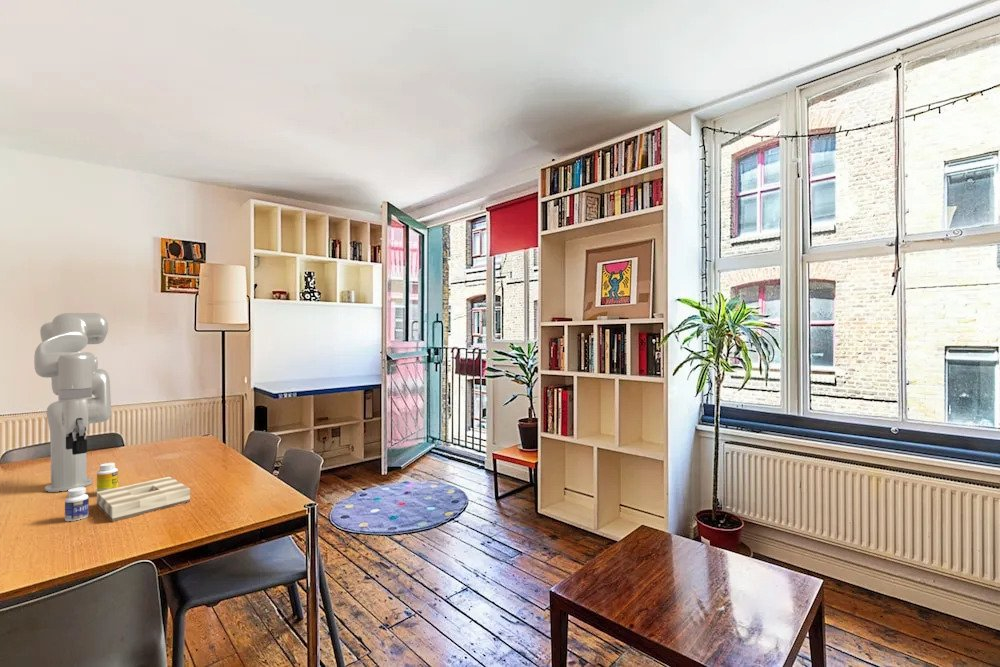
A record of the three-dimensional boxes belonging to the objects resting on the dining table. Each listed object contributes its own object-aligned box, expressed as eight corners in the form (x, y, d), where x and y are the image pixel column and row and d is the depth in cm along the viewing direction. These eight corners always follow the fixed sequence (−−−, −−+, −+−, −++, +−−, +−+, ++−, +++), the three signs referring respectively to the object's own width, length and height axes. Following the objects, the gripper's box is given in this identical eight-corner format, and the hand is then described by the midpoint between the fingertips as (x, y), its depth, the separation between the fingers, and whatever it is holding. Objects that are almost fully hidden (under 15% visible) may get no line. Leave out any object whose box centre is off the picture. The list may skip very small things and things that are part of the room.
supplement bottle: (113, 495, 159) (113, 465, 158) (93, 497, 157) (93, 467, 157) (120, 489, 164) (120, 461, 164) (101, 491, 162) (101, 462, 162)
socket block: (96, 505, 149) (96, 492, 149) (170, 489, 164) (169, 476, 164) (112, 522, 136) (112, 506, 136) (190, 502, 152) (190, 488, 152)
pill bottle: (74, 522, 136) (73, 492, 136) (60, 521, 137) (59, 491, 137) (93, 515, 141) (93, 486, 141) (79, 514, 142) (79, 485, 142)
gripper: (53, 393, 141) (54, 449, 141) (63, 398, 130) (64, 458, 131) (85, 391, 147) (86, 444, 147) (98, 395, 136) (99, 453, 136)
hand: (76, 451), depth 139 cm, fingers open, 9 cm apart
